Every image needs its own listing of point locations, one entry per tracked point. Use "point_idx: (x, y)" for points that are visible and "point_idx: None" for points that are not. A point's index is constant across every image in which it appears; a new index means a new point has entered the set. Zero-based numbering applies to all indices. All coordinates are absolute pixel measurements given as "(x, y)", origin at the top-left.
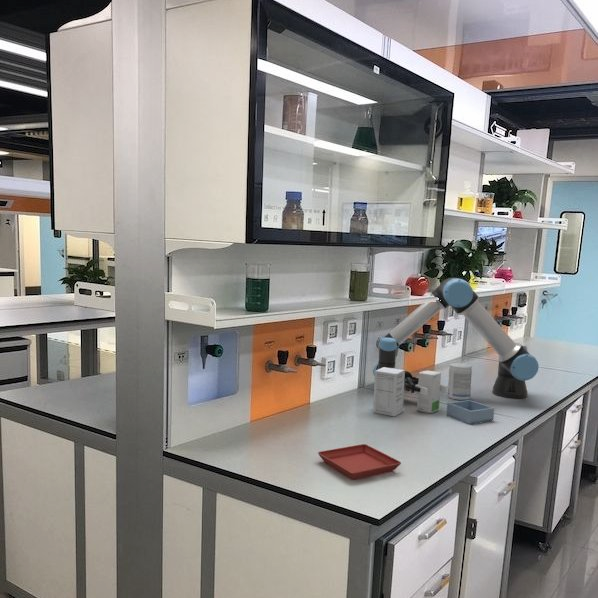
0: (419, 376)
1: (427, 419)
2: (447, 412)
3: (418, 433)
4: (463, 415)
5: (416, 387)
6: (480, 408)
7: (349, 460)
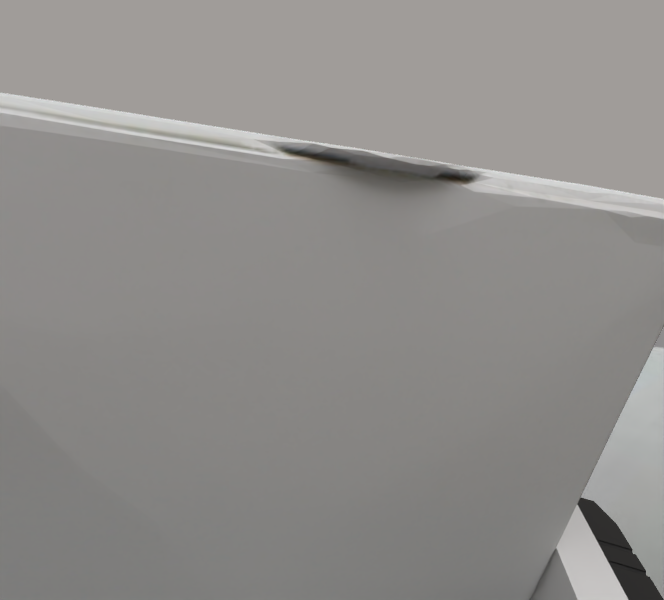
0: (640, 325)
1: None
2: None
3: (660, 457)
4: None
5: (621, 569)
6: None
7: None
